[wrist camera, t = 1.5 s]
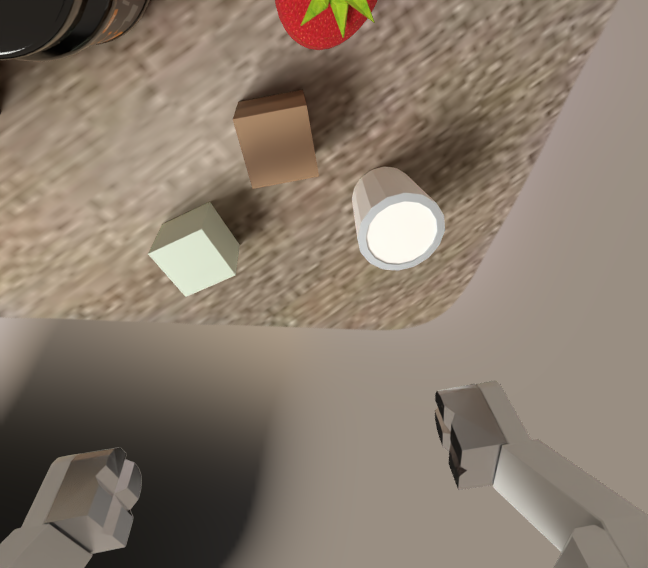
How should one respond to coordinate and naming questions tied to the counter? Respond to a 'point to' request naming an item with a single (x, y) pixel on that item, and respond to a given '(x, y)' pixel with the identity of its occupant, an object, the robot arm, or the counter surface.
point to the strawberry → (323, 20)
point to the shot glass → (395, 219)
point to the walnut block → (276, 139)
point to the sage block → (196, 250)
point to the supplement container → (62, 26)
